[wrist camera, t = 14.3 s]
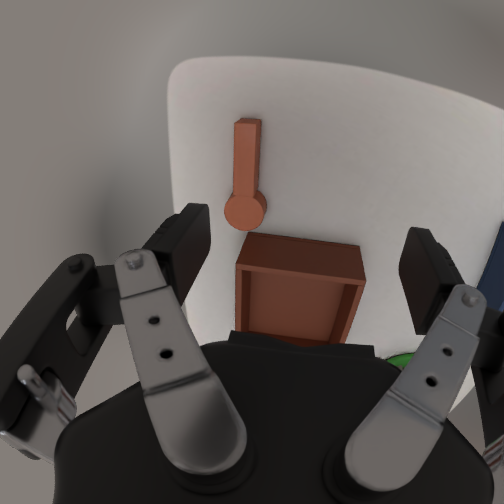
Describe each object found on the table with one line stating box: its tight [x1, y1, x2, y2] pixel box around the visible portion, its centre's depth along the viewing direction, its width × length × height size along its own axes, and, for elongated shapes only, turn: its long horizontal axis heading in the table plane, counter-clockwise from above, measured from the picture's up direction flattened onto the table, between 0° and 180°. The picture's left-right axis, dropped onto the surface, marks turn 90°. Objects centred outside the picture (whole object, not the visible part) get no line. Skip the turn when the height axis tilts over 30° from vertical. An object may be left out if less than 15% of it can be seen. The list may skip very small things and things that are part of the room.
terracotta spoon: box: [224, 118, 267, 231], centre depth 27 cm, size 10×4×2 cm, turn 178°
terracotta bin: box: [235, 232, 366, 347], centre depth 32 cm, size 14×11×6 cm
